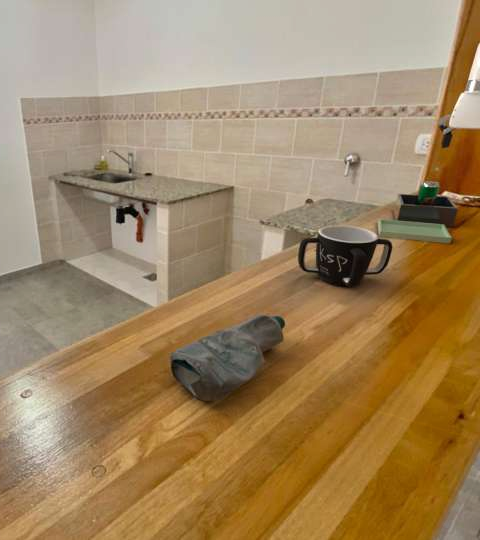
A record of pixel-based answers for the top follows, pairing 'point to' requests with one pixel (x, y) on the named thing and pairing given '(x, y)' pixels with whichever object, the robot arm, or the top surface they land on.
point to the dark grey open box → (425, 210)
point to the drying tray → (414, 231)
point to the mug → (344, 254)
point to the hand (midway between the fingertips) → (463, 148)
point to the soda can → (427, 193)
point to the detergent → (226, 357)
